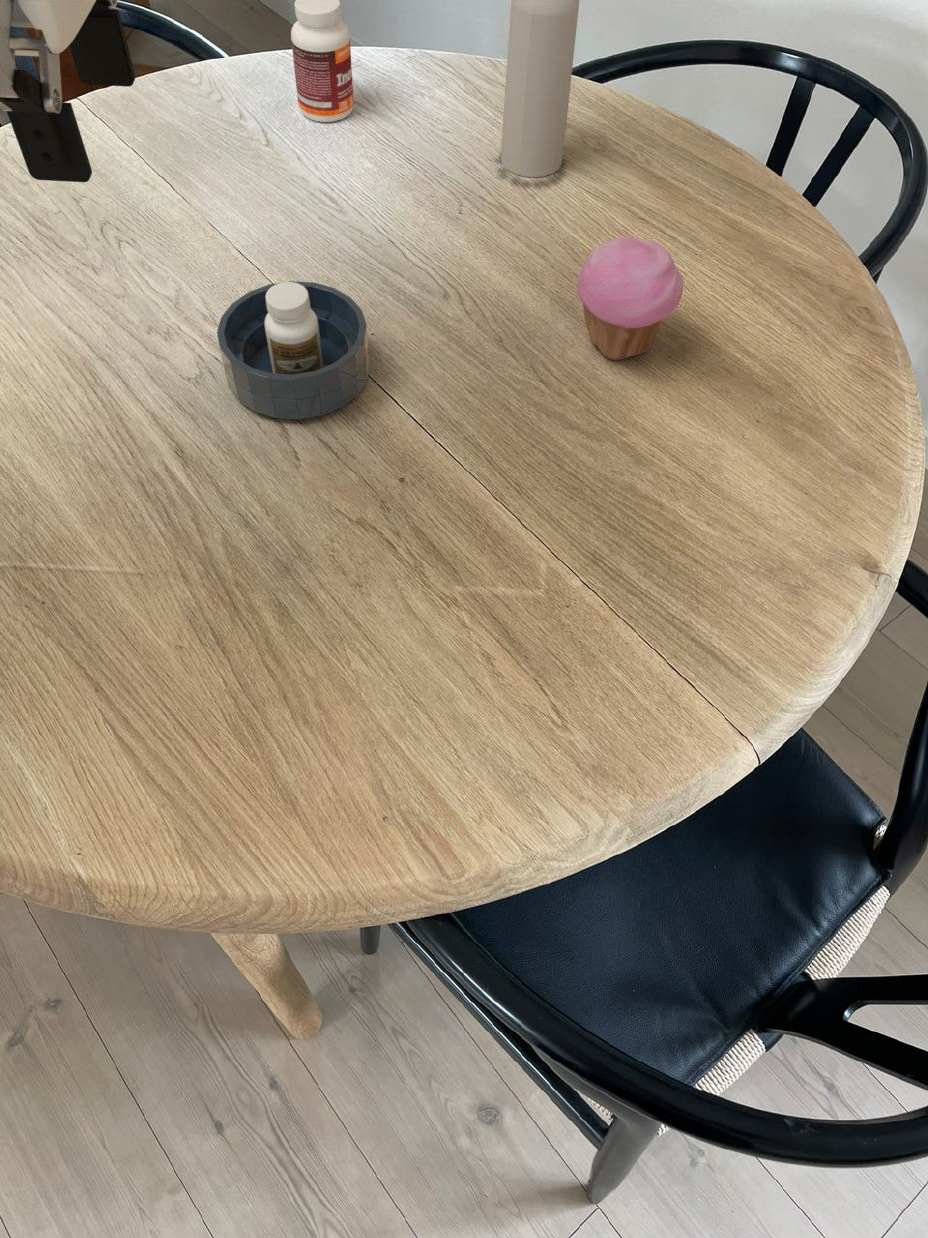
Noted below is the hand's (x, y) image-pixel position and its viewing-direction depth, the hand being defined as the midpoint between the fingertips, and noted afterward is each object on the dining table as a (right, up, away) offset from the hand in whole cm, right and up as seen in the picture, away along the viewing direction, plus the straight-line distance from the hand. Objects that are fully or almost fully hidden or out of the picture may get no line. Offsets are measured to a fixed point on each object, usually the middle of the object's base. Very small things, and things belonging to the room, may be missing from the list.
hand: (87, 128), depth 55 cm
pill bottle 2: (+7, -6, +30) cm, 31 cm away
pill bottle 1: (+6, +29, +54) cm, 62 cm away
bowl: (+7, -6, +30) cm, 32 cm away
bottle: (+28, +22, +50) cm, 61 cm away
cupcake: (+35, -3, +33) cm, 49 cm away
